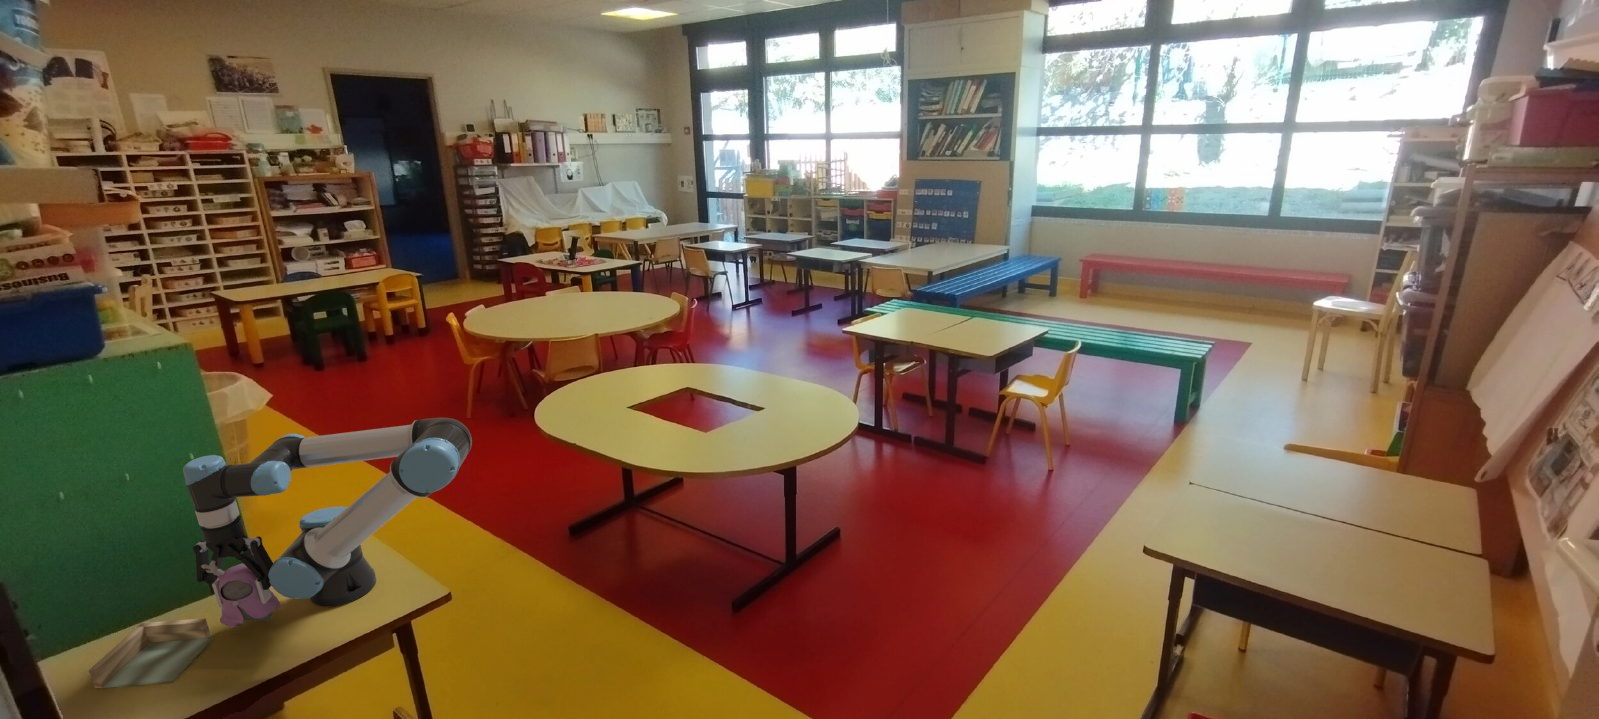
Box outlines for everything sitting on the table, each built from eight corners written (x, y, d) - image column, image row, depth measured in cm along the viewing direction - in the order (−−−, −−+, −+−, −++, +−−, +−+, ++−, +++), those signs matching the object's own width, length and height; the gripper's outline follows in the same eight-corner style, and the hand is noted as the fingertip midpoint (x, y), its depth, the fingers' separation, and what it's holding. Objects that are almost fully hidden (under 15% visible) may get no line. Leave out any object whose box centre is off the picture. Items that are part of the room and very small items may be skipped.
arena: (218, 633, 176) (213, 616, 174) (172, 682, 161) (166, 664, 159) (148, 639, 174) (142, 622, 172) (95, 688, 159) (88, 670, 157)
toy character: (215, 643, 171) (190, 571, 165) (234, 615, 180) (211, 546, 174) (274, 632, 174) (252, 561, 168) (289, 606, 184) (269, 538, 177)
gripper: (279, 508, 173) (301, 588, 180) (181, 515, 170) (207, 596, 177) (260, 525, 165) (284, 607, 173) (158, 532, 163) (186, 615, 170)
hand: (245, 601), depth 175 cm, fingers closed on toy character, 9 cm apart
